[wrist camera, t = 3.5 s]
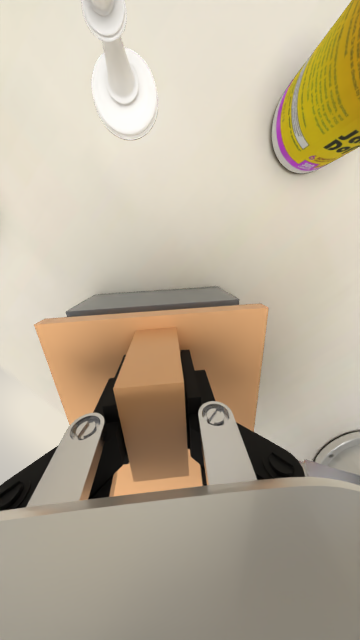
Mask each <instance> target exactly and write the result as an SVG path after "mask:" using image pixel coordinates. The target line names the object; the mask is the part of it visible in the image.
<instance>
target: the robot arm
mask: <svg viewBox="0 0 360 640" xmlns="http://www.w3.org/2000/svg"><path fill="white" fill-rule="evenodd" d="M125 357H126V355H124V356H123V359H122V361H121V363H120V366H119V368H118V370H117V373H116V375H115V377H114V378H110V379H109V380H108V382H107V384H106V386H105V388H104V390H103V392H102V395H101V397H100V399H99V401H98V403H97V405H96V407H95V410H94V412H93V413H89V414H85V415H83V416H81V417H79V418H78V419H76V420H75V421H74V422H73V423H72V424H71V425H70V426H69V428H68V429H67V431H66V433H65V434H64V436H63V438H62V440H61V442H60V444H59V445H58V446H57V447H55V448H54V449H52V450H51V451H49V452H48V453H46V454H45V455H44V456H42V457H41V458H39V459H38V460H36V461H35V462H33V463H32V464H31V465H29V466H28V467H26V468H25V469H23V470H22V471H20V472H19V473H17V474H16V475H14V476H13V477H12V478H10V479H9V480H7V481H6V482H4V483H3V484H2V485H1V486H0V640H360V431H359V432H353V433H349V434H346V435H344V436H341V437H339V438H337V439H335V440H334V441H332V442H331V443H329V444H328V445H327V446H326V447H324V448H323V449H322V450H321V452H320V453H319V454H318V456H317V457H316V460H315V462H312V461H308V460H304V462H300V461H298V460H297V459H296V458H295V457H294V456H293V455H292V454H291V453H289V452H288V451H286V450H285V449H283V448H281V447H279V446H278V445H276V444H274V443H272V442H271V441H269V440H267V439H265V438H263V437H262V436H260V435H258V434H256V433H255V432H253V431H251V430H249V429H248V428H246V427H244V426H242V425H240V424H239V423H237V422H236V421H235V418H234V416H233V413H232V411H231V409H230V408H229V407H228V406H227V405H225V404H223V403H221V402H217V401H215V398H214V395H213V392H212V389H211V386H210V383H209V380H208V377H207V374H206V372H205V370H196V371H195V370H194V366H193V362H192V358H191V354H190V350H189V349H188V350H181V353H180V357H181V364H182V372H183V379H184V392H185V410H186V429H187V447H188V449H190V455H191V457H192V458H193V459H194V460H195V461H196V462H198V463H199V464H200V474H201V482H202V486H198V487H190V488H181V489H172V490H164V491H155V492H147V493H138V494H130V495H122V496H114V491H115V485H116V480H117V471H118V470H119V469H120V468H121V467H122V466H123V465H124V464H129V458H128V454H127V449H126V445H125V440H124V436H123V431H122V427H121V422H120V418H119V413H118V409H117V404H116V400H115V395H114V391H113V387H114V385H115V382H116V380H117V377H118V375H119V372H120V370H121V367H122V365H123V362H124V360H125Z"/></svg>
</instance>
